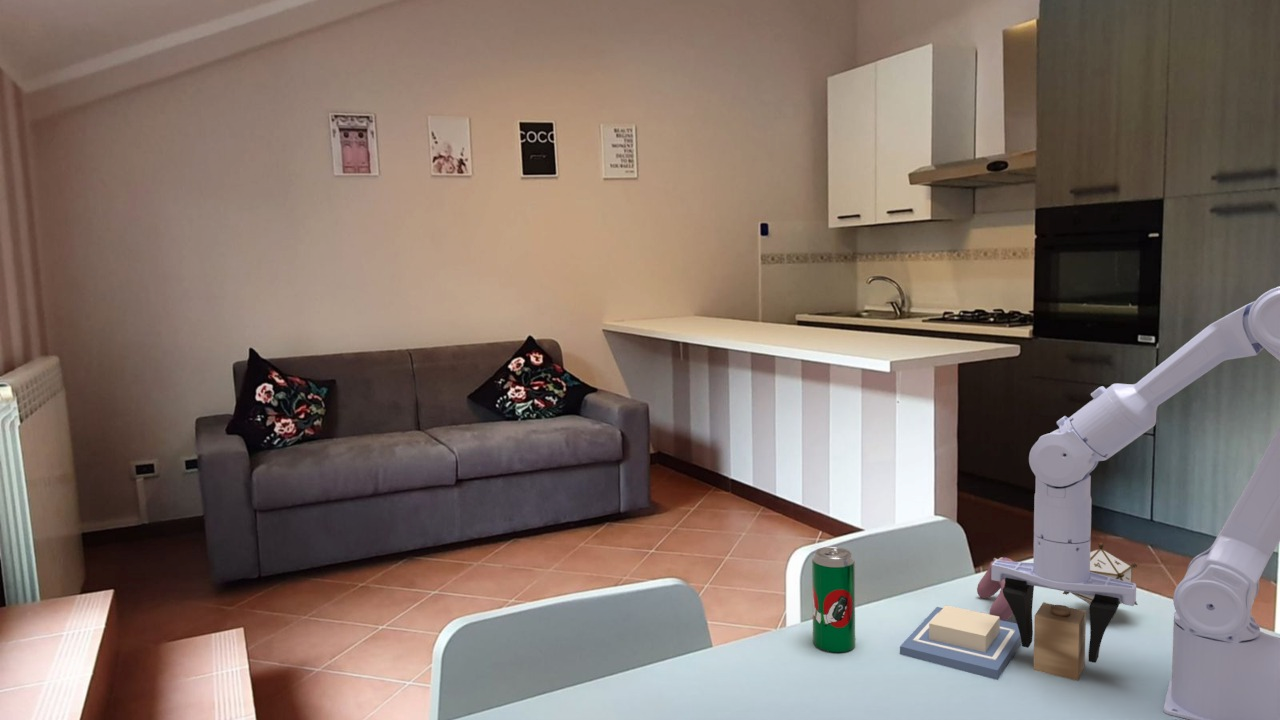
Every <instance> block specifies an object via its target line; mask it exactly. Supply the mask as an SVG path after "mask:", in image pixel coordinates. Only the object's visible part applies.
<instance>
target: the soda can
mask: <svg viewBox="0 0 1280 720" xmlns="http://www.w3.org/2000/svg"><path fill="white" fill-rule="evenodd" d="M814 551H815V552H814V556H813V558H812V559H811V573H812V574H811V580H812V581H811V584H812V586H811V588H812V590H811V591H812V593H811V594H812V643H813V645H814V647H816V648H817V649H818V650H821V651H823V652H827V653H832V654H843V653H849V652H850V651H852V650H853V649H854V648H855V647H856V578H855V577H856V567H855V566H856V563H855V560H854V558H853V557H852V552H851V551H850V550H849V549H847V548H844V547H838V546H825V547H819V548H818V549H816V550H814Z"/></svg>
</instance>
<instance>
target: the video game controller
mask: <svg viewBox="0 0 1280 720" xmlns="http://www.w3.org/2000/svg"><path fill="white" fill-rule="evenodd" d="M995 560H1002V561H1010V562H1014V560H1013V559H1011V558H1008V557H1005V556H1004V557H999V558H996V557H994V558H993V560H992V561H991V562H990V563H989V566H988V568H987V570H986V572H985V574H984V575H983V576H982V578H981V579H980V580H979V582H978V584H977V588H976V593H977V595H978V597H979V598H982V599H989V598H991V597H993V596H994V595H995V594H997V593H998V592H999V593H998V595H997V597H996V599H995V600H994V602H993V603H992V605H991V607H990V610H989V613H988V614H990V615H994V616H999V617H1000V620H1002V621H1007V620H1009V619H1010V618H1011V617H1012V616H1014V614H1013V612H1012V610H1011V608H1010V606H1009V604H1008V602H1007V600H1006V599H1005V597H1004V595H1003V588H1004V587H1005V580H1002V581H994V580H991V572H992V564H993V562H994V561H995Z"/></svg>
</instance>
